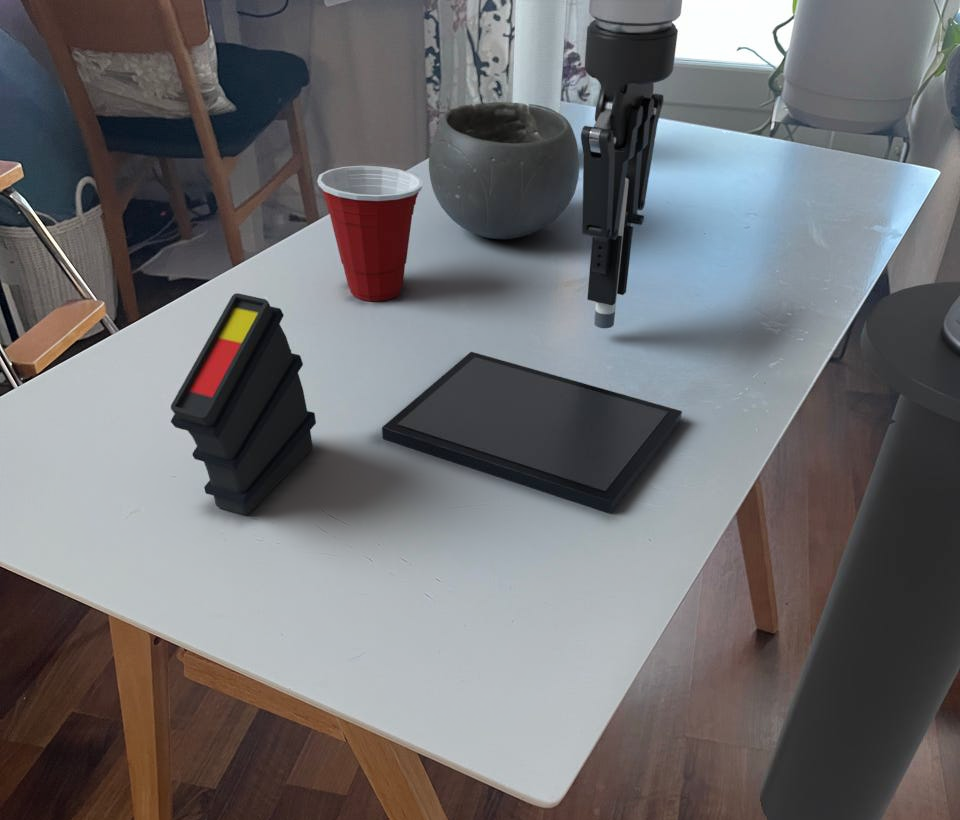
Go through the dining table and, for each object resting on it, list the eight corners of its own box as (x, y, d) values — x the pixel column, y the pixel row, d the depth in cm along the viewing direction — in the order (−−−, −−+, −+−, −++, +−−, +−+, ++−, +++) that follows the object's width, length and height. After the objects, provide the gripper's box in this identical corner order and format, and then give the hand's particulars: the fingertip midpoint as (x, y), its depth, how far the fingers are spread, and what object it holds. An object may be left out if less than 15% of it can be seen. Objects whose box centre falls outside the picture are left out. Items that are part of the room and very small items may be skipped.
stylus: (617, 322, 99) (632, 178, 89) (609, 330, 97) (623, 185, 88) (599, 318, 99) (612, 174, 90) (591, 325, 98) (603, 181, 88)
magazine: (334, 415, 85) (275, 297, 71) (271, 543, 81) (195, 444, 67) (297, 406, 86) (232, 288, 72) (233, 531, 82) (151, 432, 68)
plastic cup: (445, 284, 108) (443, 171, 100) (388, 320, 102) (381, 203, 93) (367, 261, 112) (360, 151, 104) (308, 295, 106) (294, 180, 97)
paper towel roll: (508, 153, 140) (514, -24, 125) (550, 152, 140) (560, -23, 125) (513, 170, 135) (519, -12, 120) (556, 170, 135) (567, -12, 120)
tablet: (680, 422, 88) (682, 409, 87) (610, 513, 78) (612, 500, 77) (470, 362, 96) (470, 350, 95) (382, 438, 86) (381, 426, 85)
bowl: (517, 193, 129) (521, 87, 120) (604, 238, 118) (615, 126, 109) (403, 221, 121) (398, 110, 112) (484, 272, 111) (486, 154, 102)
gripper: (626, -1, 86) (602, 261, 102) (552, 35, 76) (539, 317, 93) (707, 8, 83) (669, 275, 100) (640, 46, 74) (611, 335, 90)
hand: (606, 295), depth 96 cm, fingers closed on stylus, 2 cm apart
